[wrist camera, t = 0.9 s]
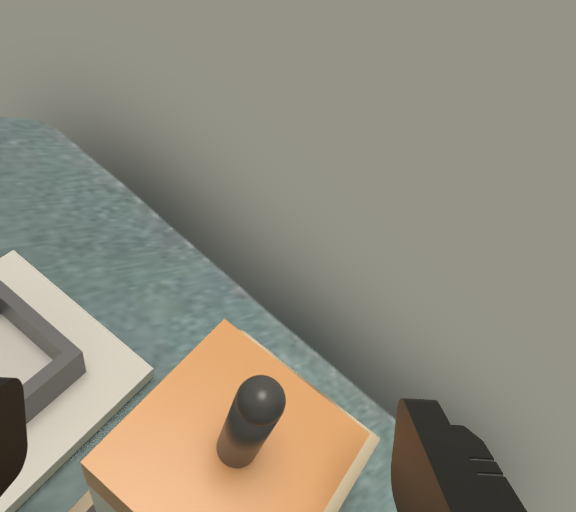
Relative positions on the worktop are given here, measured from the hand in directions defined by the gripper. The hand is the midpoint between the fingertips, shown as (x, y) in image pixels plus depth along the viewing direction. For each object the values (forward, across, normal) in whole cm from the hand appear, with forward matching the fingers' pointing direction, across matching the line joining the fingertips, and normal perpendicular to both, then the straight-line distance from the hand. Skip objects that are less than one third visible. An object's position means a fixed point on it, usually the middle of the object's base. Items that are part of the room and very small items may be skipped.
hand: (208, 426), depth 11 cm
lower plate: (+20, +17, +10) cm, 28 cm away
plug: (+10, +2, +12) cm, 16 cm away
